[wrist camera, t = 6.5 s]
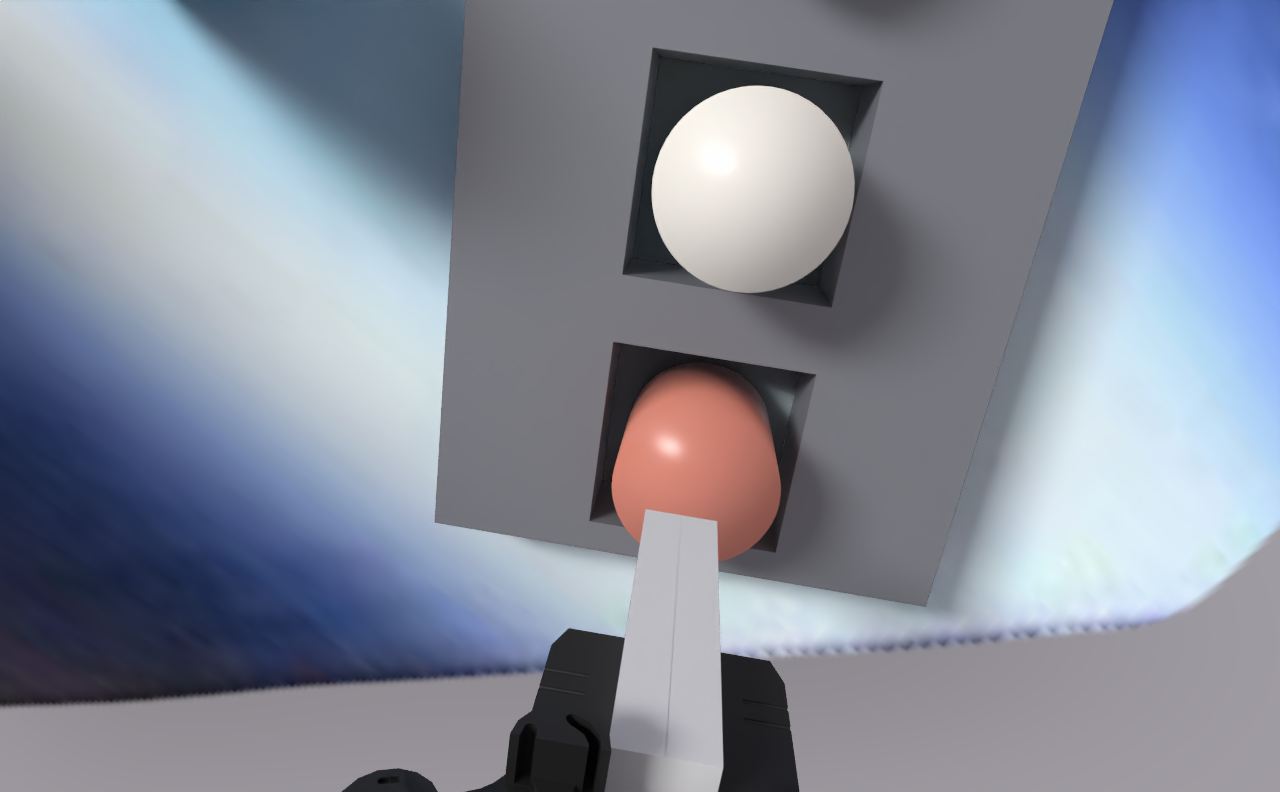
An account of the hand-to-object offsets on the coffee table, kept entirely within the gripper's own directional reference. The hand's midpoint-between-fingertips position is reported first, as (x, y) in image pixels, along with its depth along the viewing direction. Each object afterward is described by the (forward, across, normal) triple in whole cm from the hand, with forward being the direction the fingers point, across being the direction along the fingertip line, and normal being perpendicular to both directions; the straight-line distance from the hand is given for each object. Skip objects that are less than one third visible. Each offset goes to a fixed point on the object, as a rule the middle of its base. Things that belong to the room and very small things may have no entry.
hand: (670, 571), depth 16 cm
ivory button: (+9, 0, -8) cm, 12 cm away
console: (+11, 0, -8) cm, 13 cm away
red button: (+10, -1, 0) cm, 10 cm away
